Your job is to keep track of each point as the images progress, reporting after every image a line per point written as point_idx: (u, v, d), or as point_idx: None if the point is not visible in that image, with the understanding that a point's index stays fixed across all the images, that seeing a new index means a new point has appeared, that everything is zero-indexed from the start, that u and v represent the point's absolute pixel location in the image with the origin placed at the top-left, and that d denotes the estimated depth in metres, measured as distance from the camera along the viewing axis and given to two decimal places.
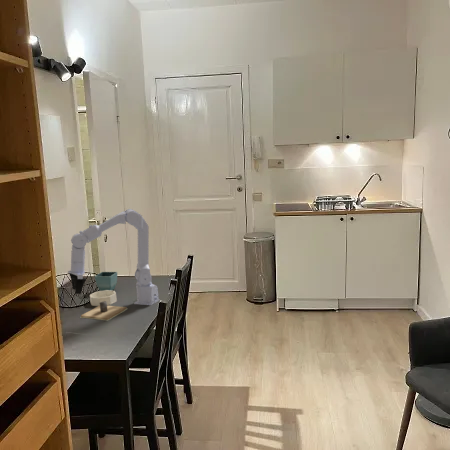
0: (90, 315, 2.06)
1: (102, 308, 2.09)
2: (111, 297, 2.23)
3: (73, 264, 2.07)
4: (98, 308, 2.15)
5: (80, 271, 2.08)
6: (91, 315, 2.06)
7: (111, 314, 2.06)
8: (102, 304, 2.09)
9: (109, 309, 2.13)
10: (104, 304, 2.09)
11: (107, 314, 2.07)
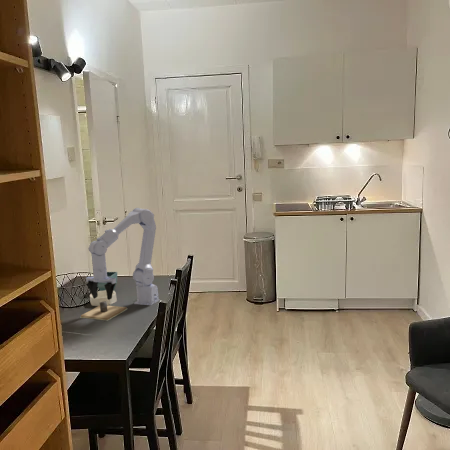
0: (90, 315, 2.06)
1: (102, 308, 2.09)
2: None
3: (100, 272, 2.05)
4: (98, 308, 2.15)
5: (106, 277, 2.08)
6: (91, 315, 2.06)
7: (111, 314, 2.06)
8: (102, 304, 2.09)
9: (109, 309, 2.13)
10: (104, 304, 2.09)
11: (107, 314, 2.07)
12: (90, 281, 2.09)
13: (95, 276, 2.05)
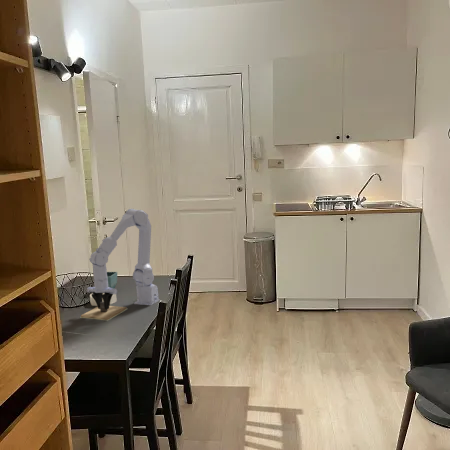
0: (90, 315, 2.06)
1: (102, 308, 2.09)
2: (111, 297, 2.23)
3: (101, 282, 2.06)
4: None
5: (107, 287, 2.08)
6: (91, 315, 2.06)
7: (111, 314, 2.06)
8: (102, 304, 2.09)
9: (109, 309, 2.13)
10: None
11: (107, 314, 2.07)
12: (95, 292, 2.09)
13: (96, 287, 2.06)
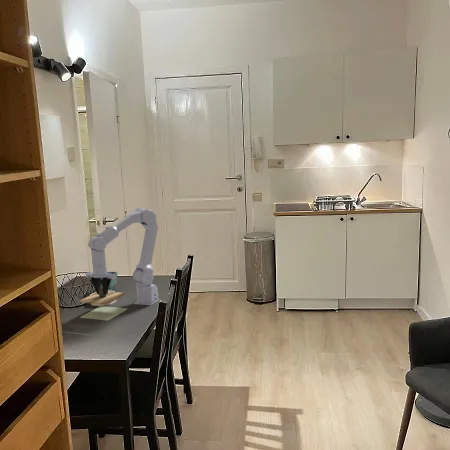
0: (89, 300, 2.06)
1: (101, 293, 2.08)
2: None
3: (99, 267, 2.05)
4: (97, 294, 2.14)
5: (106, 272, 2.08)
6: (90, 300, 2.06)
7: (110, 299, 2.05)
8: (101, 289, 2.08)
9: (107, 294, 2.12)
10: None
11: (105, 299, 2.06)
12: (94, 277, 2.09)
13: (95, 272, 2.06)
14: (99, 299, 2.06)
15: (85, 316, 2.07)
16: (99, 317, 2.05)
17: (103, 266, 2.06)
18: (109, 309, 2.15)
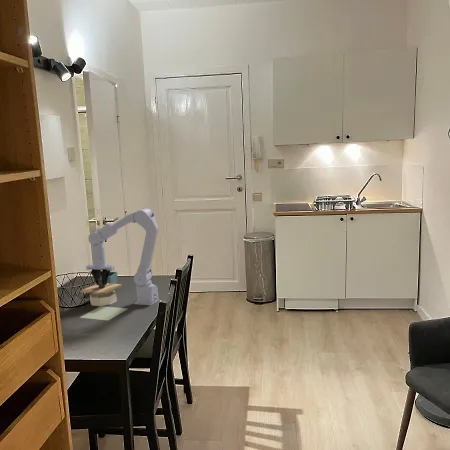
0: (89, 290, 2.20)
1: (100, 284, 2.23)
2: (111, 297, 2.23)
3: (99, 260, 2.20)
4: (96, 285, 2.29)
5: (105, 264, 2.23)
6: (90, 290, 2.20)
7: (109, 289, 2.20)
8: (100, 280, 2.23)
9: (106, 286, 2.27)
10: None
11: (104, 289, 2.21)
12: (93, 269, 2.24)
13: (95, 264, 2.21)
14: (99, 289, 2.21)
15: (85, 316, 2.07)
16: (99, 317, 2.05)
17: (102, 258, 2.21)
18: (109, 309, 2.15)
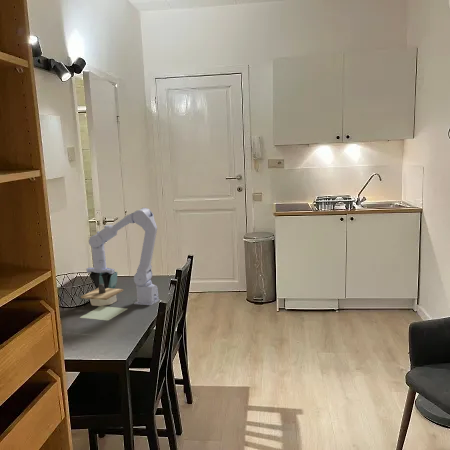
0: (89, 296, 2.21)
1: (100, 290, 2.24)
2: (111, 297, 2.23)
3: (99, 263, 2.20)
4: (96, 290, 2.29)
5: None
6: (90, 296, 2.21)
7: (109, 295, 2.21)
8: (100, 286, 2.23)
9: (106, 291, 2.28)
10: (102, 286, 2.24)
11: (105, 295, 2.21)
12: (92, 272, 2.25)
13: (95, 267, 2.21)
14: (99, 295, 2.22)
15: (85, 316, 2.07)
16: (99, 317, 2.05)
17: (103, 261, 2.21)
18: (109, 309, 2.15)
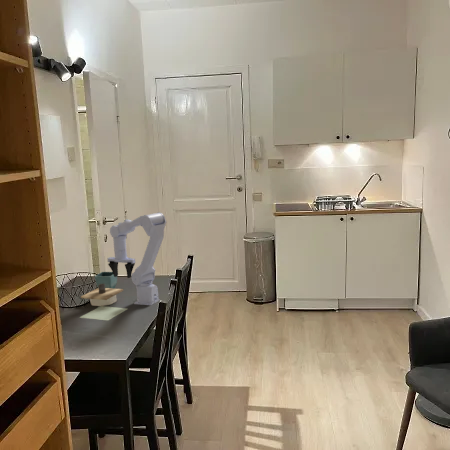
0: (89, 296, 2.21)
1: (100, 290, 2.24)
2: (111, 297, 2.23)
3: (121, 252, 2.26)
4: (96, 290, 2.29)
5: (126, 257, 2.29)
6: (90, 296, 2.21)
7: (109, 295, 2.21)
8: (100, 286, 2.23)
9: (106, 291, 2.28)
10: (102, 286, 2.24)
11: (105, 295, 2.21)
12: (111, 261, 2.31)
13: (116, 256, 2.27)
14: (99, 295, 2.22)
15: (85, 316, 2.07)
16: (99, 317, 2.05)
17: (124, 251, 2.27)
18: (109, 309, 2.15)
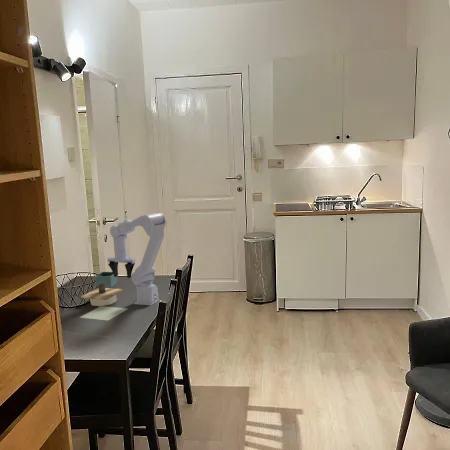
0: (89, 296, 2.21)
1: (100, 290, 2.24)
2: (111, 297, 2.23)
3: (121, 252, 2.26)
4: (96, 290, 2.29)
5: (126, 257, 2.29)
6: (90, 296, 2.21)
7: (109, 295, 2.21)
8: (100, 286, 2.23)
9: (106, 291, 2.28)
10: (102, 286, 2.24)
11: (105, 295, 2.21)
12: (111, 261, 2.31)
13: (116, 256, 2.27)
14: (99, 295, 2.22)
15: (85, 316, 2.07)
16: (99, 317, 2.05)
17: (124, 251, 2.27)
18: (109, 309, 2.15)
